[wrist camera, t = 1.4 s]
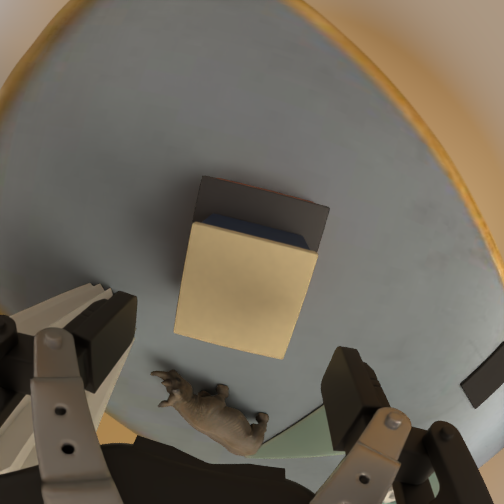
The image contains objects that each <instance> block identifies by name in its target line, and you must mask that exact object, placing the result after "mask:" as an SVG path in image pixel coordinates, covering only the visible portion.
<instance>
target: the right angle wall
mask: <svg viewBox="0 0 504 504" xmlns="http://www.w3.org/2000/svg"><path fill="white" fill-rule="evenodd" d="M429 481H430V484H431V487H432V490H433V493H434V496H435V497H436V496H437V494H438V492H439V482H438V479H437V477H436V474H435V472H434V473H433V474H432V475H431V476H430V477H429ZM382 504H396V500H395V495H394V491H393V487H392V485H391V487H390V489H389V491H388V493H387V495H386V497H385V499H384V501H383V503H382Z"/></svg>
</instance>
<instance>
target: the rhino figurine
mask: <svg viewBox="0 0 504 504" xmlns="http://www.w3.org/2000/svg"><path fill="white" fill-rule="evenodd" d="M151 375H152V376H153V375H155V376H158V377H160V378H162V379H163V380H164V381H163V382H161V384H163V385H165V386H166V389H167V392H168V393H169V394H170V395H169V398H168V400H164V401H162V402H161V403H160V404H159V405H158V407H167V406H173V407H174V408H175V409H176V410H177V411H178V412H179V413H180V414H181V416H182V417H183V418H184V419H185V420H186V421H187V422H188V423H189V424H190V425H191V426H192V427H194V428H195V429H196V430H198V431H200V432H202V433H204V434H206V435H207V436H209V437H210V438H211V439H213V440H215V441H216V442H218V443H219V444H221V445H222V446H224V447H225V448H226V449H227V450H228V451H229V452H231V453H233V454H235V455H240V456H247V455H254V454H256V453H257V451H258V449H259V448H260V446H261V445H262V443H263V440H264V432H266V427H267V422H268V420H269V416H268V415H267V414H263V413H258V415H257V416H256V420H257V422H258V424H254V423H253V424H251V425H250V424H249V422H248V421H247V419H246V417H245V416H244V415H243V413H242V412H240V411H239V410H237V409H234V408H230V407H227V406H226V404H225V398H227V397H228V395H229V393H228V390H229V388H228V387H227V386H224V385H221V384H220V385H218V386H217V388H216V391H217V393H218V394H217V395H214V396H211V395H210V394H209V393H208V392H206V391H201V392H200V393H198V395H196V394H193V389H192V386H191V385H190V384H189V383H188V382H187V381H186V380H185V379H183V378H182V377H181V376H180V375H179V374H178V373H177V372H176V371H175V370H173V369H172V370H170V371H169V372H164V371H153V372H151Z"/></svg>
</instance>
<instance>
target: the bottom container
mask: <svg viewBox="0 0 504 504" xmlns="http://www.w3.org/2000/svg"><path fill="white" fill-rule="evenodd" d="M329 210H330V208H329V207H327V206H323V205H320V204H316V203H314V202H311V201H308V200H304V199H300V198H297V197H293V196H289V195H285V194H282V193H278V192H274V191H270V190H266V189H262V188H258V187H254V186H250V185H246V184H242V183H238V182H233V181H229V180H225V179H220V178H213V177H209V176H202V180H201V184H200V189H199V193H198V198H197V202H196V207H195V212H194V217H193V221H192V224H193V223H194V222H200V223H201V222H203V221H204V220H205V219H206V218H208V217H209V216H210V215H212V214H218V215H222V216H226V217H230V218H235V219H239V220H243V221H247V222H251V223H255V224H259V225H263V226H266V227H270V228H274V229H278V230H282V231H286V232H290V233H294V234H297V235H301V236H303V237H304V239H305V241H306V243H307V245H308V247H309V248H310V250H311V251H315V252H317V251H318V248H319V244H320V241H321V238H322V234H323V231H324V227H325V224H326V220H327V217H328V213H329ZM191 228H192V226H191ZM190 233H191V231H190ZM189 238H190V236H189ZM188 243H189V242H188ZM187 248H188V247H187ZM186 254H187V252H186ZM185 259H186V257H185ZM184 264H185V263H184ZM183 270H184V269H183ZM182 276H183V274H182ZM181 281H182V280H181ZM180 287H181V286H180ZM179 293H180V292H179ZM178 299H179V298H178ZM177 306H178V304H177ZM176 312H177V310H176Z"/></svg>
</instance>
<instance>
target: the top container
mask: <svg viewBox="0 0 504 504" xmlns="http://www.w3.org/2000/svg"><path fill="white" fill-rule="evenodd" d="M317 258H318V254H317V252H315V251H311V250H310V248H309V247H308V245H307V243H306V241H305V239H304V237H303V236H301V235H297V234H294V233H290V232H286V231H282V230H278V229H274V228H270V227H266V226H263V225H259V224H255V223H251V222H247V221H243V220H239V219H235V218H230V217H226V216H222V215H218V214H212V215H210V216H209V217H208V218H206V219H205V220H204V221H203V222H201V223H200V222H194V223H193V224H192V228H191V233H190V238H189V243H188V248H187V254H186V259H185V264H184V270H183V276H182V281H181V287H180V293H179V299H178V306H177V312H176V319H175V325H174V333H177V334H180V335H184V336H187V337H191V338H194V339H198V340H202V341H205V342H209V343H213V344H217V345H221V346H225V347H229V348H233V349H237V350H241V351H246V352H250V353H254V354H259V355H264V356H268V357H273V358H278V359H283V358H284V355H285V352H286V350H287V347H288V344H289V341H290V339H291V336H292V333H293V330H294V327H295V325H296V322H297V319H298V316H299V313H300V310H301V307H302V304H303V301H304V298H305V295H306V292H307V289H308V286H309V283H310V280H311V277H312V274H313V271H314V267H315V264H316V261H317Z"/></svg>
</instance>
